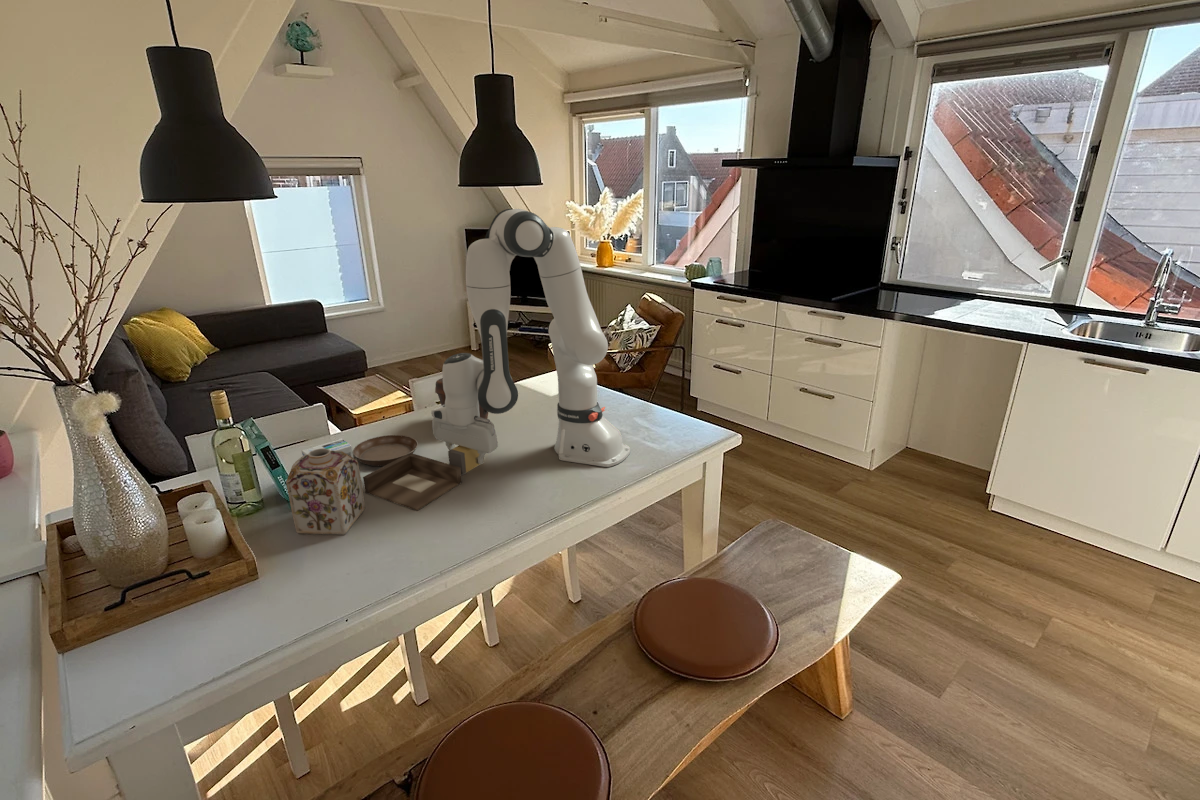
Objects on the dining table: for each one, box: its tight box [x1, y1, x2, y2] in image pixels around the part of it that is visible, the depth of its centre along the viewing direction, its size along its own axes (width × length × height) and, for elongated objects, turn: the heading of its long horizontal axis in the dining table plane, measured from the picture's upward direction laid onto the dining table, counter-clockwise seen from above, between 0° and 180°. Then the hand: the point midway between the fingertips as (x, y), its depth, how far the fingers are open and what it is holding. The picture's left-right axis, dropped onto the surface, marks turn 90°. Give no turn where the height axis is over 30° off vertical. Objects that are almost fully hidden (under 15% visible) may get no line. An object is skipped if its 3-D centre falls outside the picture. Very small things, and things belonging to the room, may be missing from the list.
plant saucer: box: [352, 434, 419, 467], centre depth 173 cm, size 18×18×3 cm
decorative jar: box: [285, 448, 366, 536], centre depth 138 cm, size 12×12×18 cm
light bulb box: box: [301, 437, 354, 458], centre depth 156 cm, size 11×7×11 cm, turn 134°
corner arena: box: [362, 453, 463, 511], centre depth 155 cm, size 18×16×4 cm
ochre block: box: [447, 445, 481, 476], centre depth 166 cm, size 4×9×6 cm, turn 151°
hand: (466, 459), depth 166 cm, fingers open, 8 cm apart
